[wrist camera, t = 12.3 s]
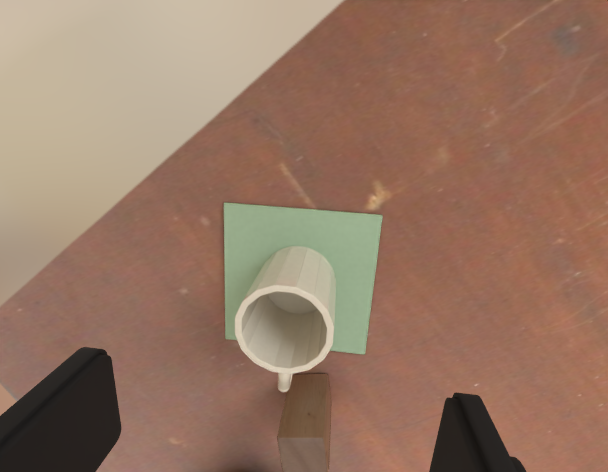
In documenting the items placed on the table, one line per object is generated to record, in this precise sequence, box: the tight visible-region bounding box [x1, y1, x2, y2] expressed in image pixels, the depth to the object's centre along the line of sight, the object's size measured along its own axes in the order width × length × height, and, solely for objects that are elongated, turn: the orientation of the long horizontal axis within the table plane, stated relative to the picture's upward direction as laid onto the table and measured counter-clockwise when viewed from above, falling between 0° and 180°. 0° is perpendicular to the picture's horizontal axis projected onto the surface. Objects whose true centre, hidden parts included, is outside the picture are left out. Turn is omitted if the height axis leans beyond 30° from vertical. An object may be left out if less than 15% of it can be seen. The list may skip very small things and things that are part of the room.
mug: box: [235, 246, 336, 392], centre depth 29 cm, size 10×7×8 cm
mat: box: [224, 202, 382, 355], centre depth 33 cm, size 14×14×1 cm
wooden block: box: [277, 374, 331, 472], centre depth 32 cm, size 4×4×8 cm
